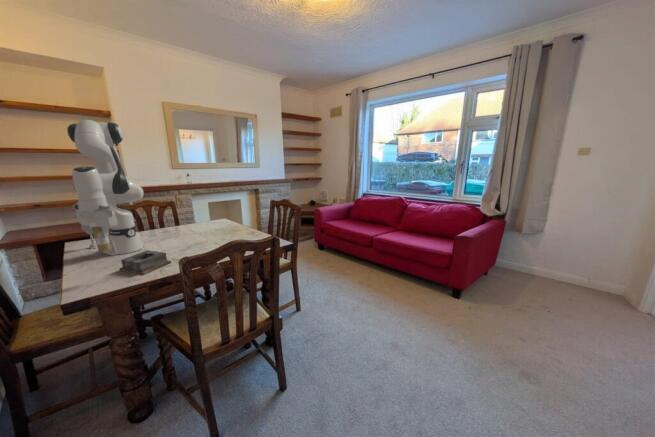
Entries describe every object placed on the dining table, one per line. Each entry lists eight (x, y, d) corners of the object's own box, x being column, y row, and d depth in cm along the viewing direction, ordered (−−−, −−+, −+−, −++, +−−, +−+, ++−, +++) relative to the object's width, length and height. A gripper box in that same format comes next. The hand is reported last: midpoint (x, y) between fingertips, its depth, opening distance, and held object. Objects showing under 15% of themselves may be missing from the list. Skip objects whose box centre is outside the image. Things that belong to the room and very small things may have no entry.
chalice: (83, 250, 151) (75, 221, 147) (91, 246, 157) (83, 218, 153) (97, 248, 153) (90, 220, 148) (104, 245, 159) (97, 217, 155)
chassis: (119, 270, 122) (117, 259, 121) (147, 259, 135) (145, 249, 134) (144, 274, 117) (142, 263, 116) (171, 262, 130) (169, 252, 128)
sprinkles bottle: (97, 251, 112) (88, 222, 109) (110, 247, 116) (101, 219, 112) (100, 253, 109) (90, 223, 106) (113, 249, 113) (104, 220, 109)
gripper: (118, 204, 107) (125, 235, 111) (87, 202, 114) (95, 231, 117) (101, 207, 102) (109, 240, 105) (70, 205, 108) (78, 235, 112)
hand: (101, 235), depth 111 cm, fingers closed on sprinkles bottle, 4 cm apart
